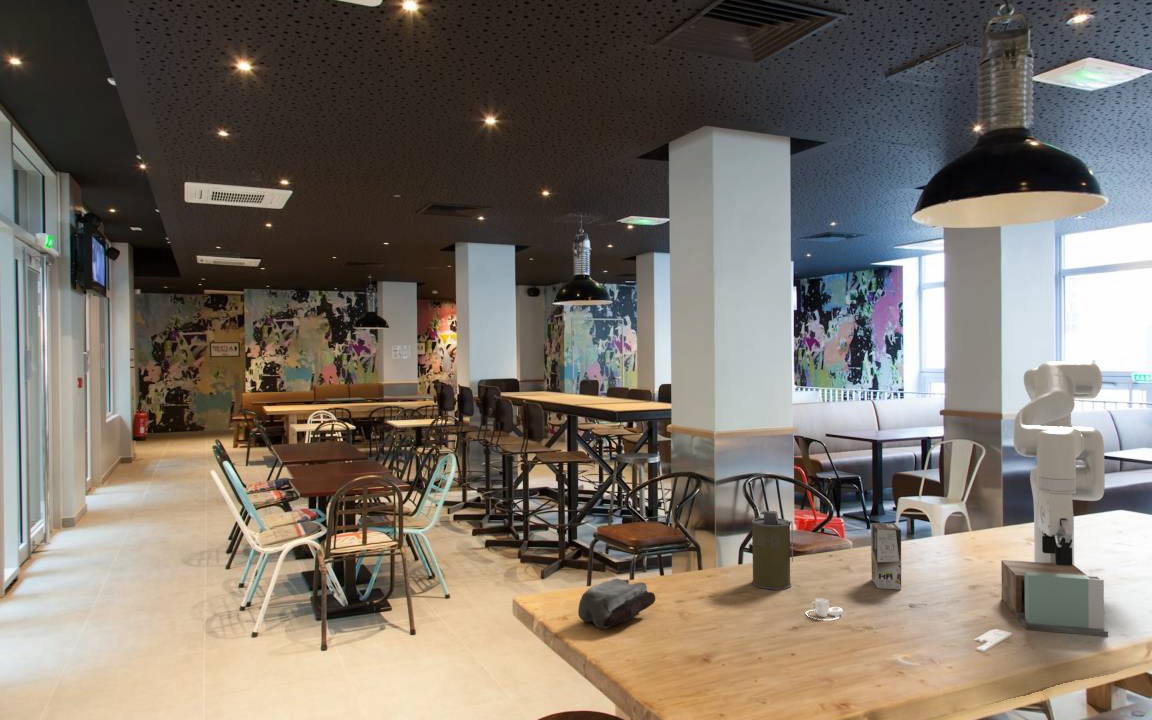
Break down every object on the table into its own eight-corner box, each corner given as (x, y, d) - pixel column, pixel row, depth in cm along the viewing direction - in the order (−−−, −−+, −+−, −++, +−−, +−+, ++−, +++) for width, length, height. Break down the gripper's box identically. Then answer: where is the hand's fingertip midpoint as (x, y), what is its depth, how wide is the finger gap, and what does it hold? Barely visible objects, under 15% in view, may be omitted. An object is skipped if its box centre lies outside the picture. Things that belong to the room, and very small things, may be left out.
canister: (749, 587, 208) (748, 514, 208) (755, 577, 217) (754, 507, 217) (790, 592, 204) (789, 517, 204) (794, 581, 213) (794, 509, 213)
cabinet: (1001, 599, 196) (1001, 560, 196) (1073, 604, 191) (1072, 564, 191) (1026, 629, 174) (1026, 585, 174) (1108, 636, 169) (1107, 591, 169)
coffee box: (902, 590, 204) (901, 529, 204) (877, 588, 206) (876, 528, 206) (895, 580, 213) (894, 522, 213) (870, 579, 215) (870, 521, 215)
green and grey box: (1024, 618, 178) (1024, 571, 178) (1099, 624, 174) (1098, 576, 174) (1028, 623, 175) (1028, 575, 175) (1104, 629, 171) (1103, 580, 171)
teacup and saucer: (843, 613, 187) (843, 597, 187) (843, 624, 180) (843, 607, 180) (805, 610, 190) (805, 593, 190) (804, 620, 183) (804, 603, 183)
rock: (613, 638, 171) (612, 601, 171) (571, 628, 178) (570, 592, 178) (658, 615, 187) (658, 581, 187) (617, 606, 194) (617, 573, 194)
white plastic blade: (959, 647, 165) (959, 642, 165) (988, 631, 175) (988, 626, 175) (984, 653, 161) (984, 648, 161) (1012, 637, 171) (1012, 632, 171)
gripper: (1027, 477, 184) (1027, 548, 185) (1049, 491, 168) (1049, 568, 168) (1062, 478, 182) (1063, 549, 183) (1088, 492, 166) (1089, 571, 166)
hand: (1056, 558), depth 175 cm, fingers open, 9 cm apart
